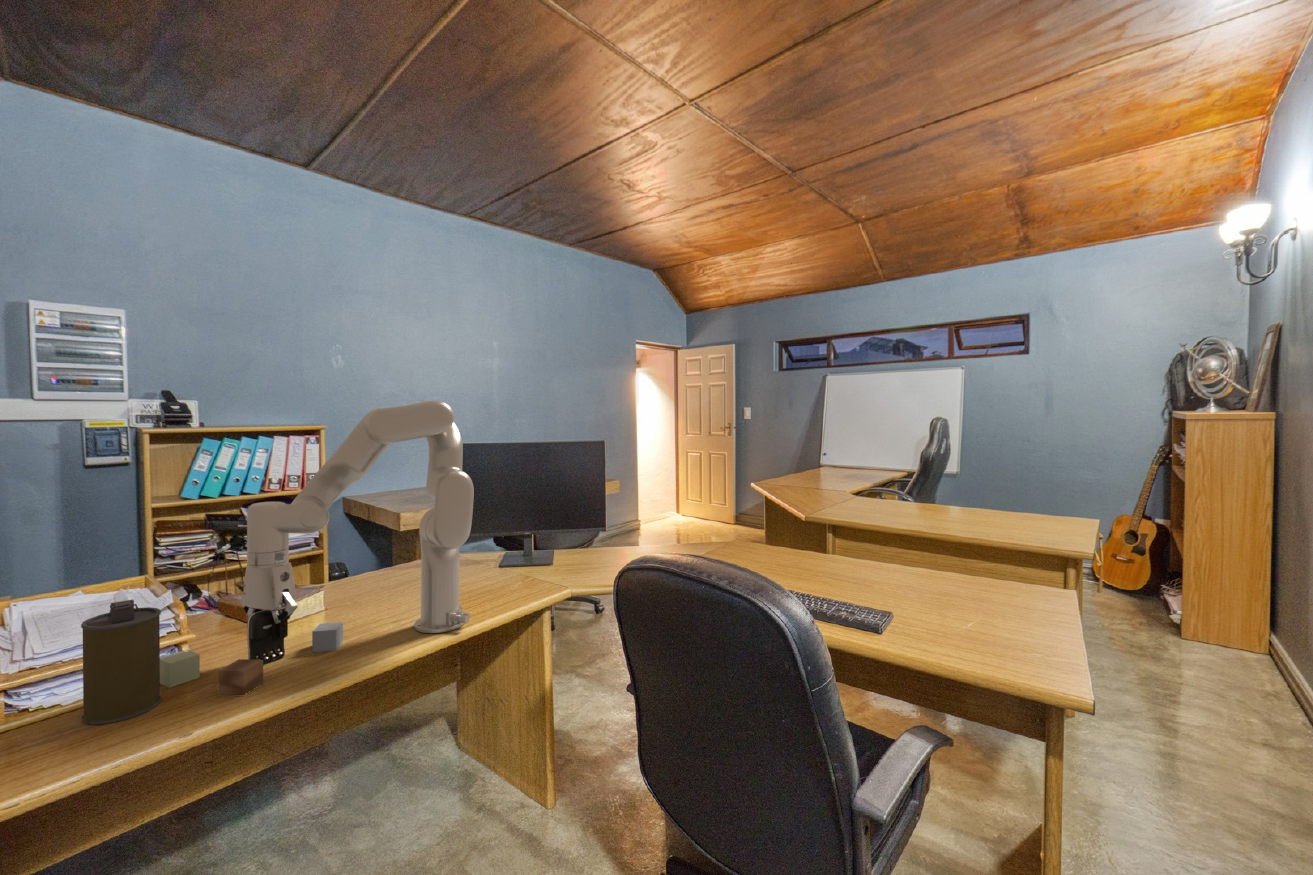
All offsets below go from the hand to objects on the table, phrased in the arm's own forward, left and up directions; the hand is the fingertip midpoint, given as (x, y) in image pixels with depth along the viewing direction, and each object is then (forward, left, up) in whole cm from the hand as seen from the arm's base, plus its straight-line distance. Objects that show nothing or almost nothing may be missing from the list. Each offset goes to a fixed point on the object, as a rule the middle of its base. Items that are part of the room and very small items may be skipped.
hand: (268, 636), depth 119 cm
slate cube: (-6, -10, -6) cm, 13 cm away
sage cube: (+9, +12, -6) cm, 16 cm away
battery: (0, 0, -6) cm, 6 cm away
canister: (+6, +23, -6) cm, 24 cm away
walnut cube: (-7, +11, -6) cm, 14 cm away
